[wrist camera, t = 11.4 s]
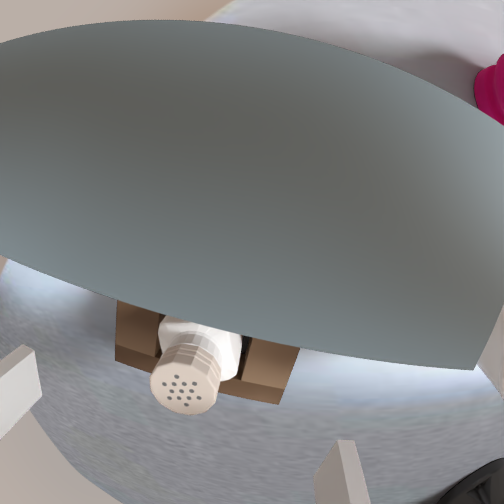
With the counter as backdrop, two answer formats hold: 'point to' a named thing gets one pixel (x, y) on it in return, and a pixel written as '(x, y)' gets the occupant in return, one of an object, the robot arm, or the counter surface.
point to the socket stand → (253, 193)
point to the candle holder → (495, 355)
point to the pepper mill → (491, 90)
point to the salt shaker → (193, 364)
